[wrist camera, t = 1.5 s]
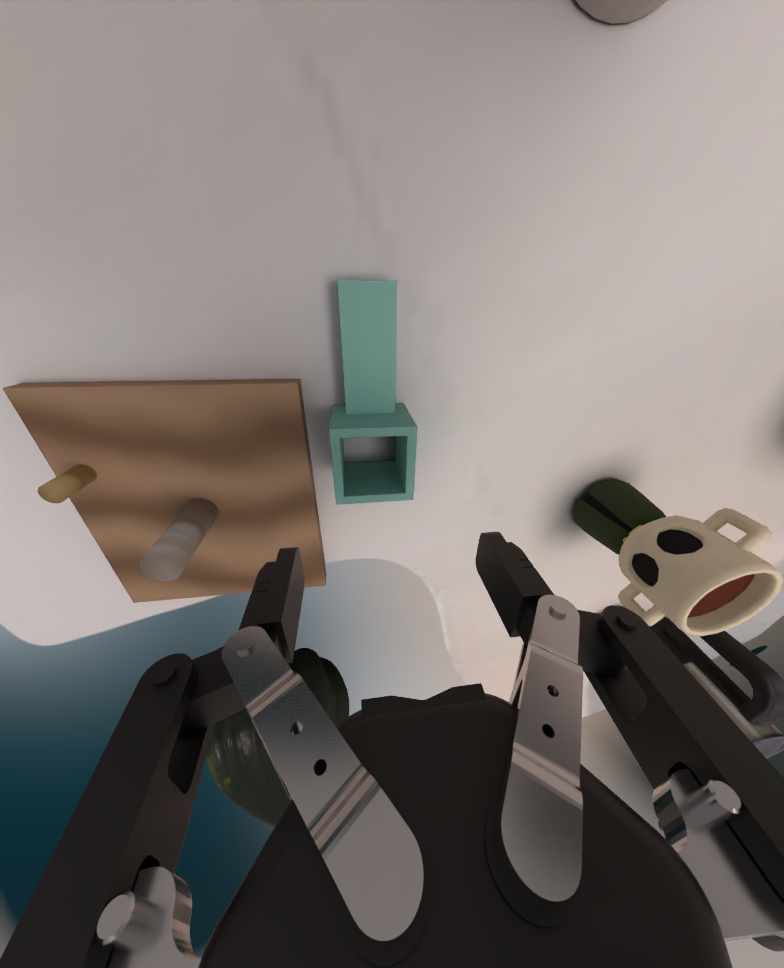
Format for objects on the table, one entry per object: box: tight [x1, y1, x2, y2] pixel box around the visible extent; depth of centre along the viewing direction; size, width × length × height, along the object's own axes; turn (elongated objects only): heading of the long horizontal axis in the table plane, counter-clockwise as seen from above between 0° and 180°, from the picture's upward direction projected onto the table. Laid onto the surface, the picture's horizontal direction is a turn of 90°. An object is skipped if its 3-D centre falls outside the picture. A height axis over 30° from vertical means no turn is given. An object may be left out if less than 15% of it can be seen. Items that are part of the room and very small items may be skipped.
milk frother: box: [650, 618, 784, 759], centre depth 40 cm, size 14×16×15 cm
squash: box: [207, 648, 349, 826], centre depth 35 cm, size 14×15×15 cm
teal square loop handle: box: [329, 280, 417, 504], centre depth 21 cm, size 14×6×6 cm, turn 179°
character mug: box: [574, 479, 784, 636], centre depth 27 cm, size 11×7×13 cm, turn 150°
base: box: [3, 379, 326, 603], centre depth 23 cm, size 20×18×8 cm
